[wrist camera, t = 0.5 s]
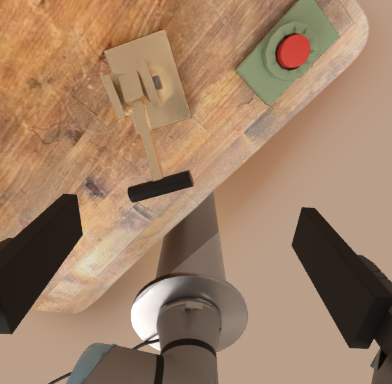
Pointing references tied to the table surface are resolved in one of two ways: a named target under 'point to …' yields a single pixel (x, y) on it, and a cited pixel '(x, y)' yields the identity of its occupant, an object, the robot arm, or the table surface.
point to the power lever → (149, 144)
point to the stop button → (293, 51)
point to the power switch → (148, 80)
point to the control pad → (267, 48)
